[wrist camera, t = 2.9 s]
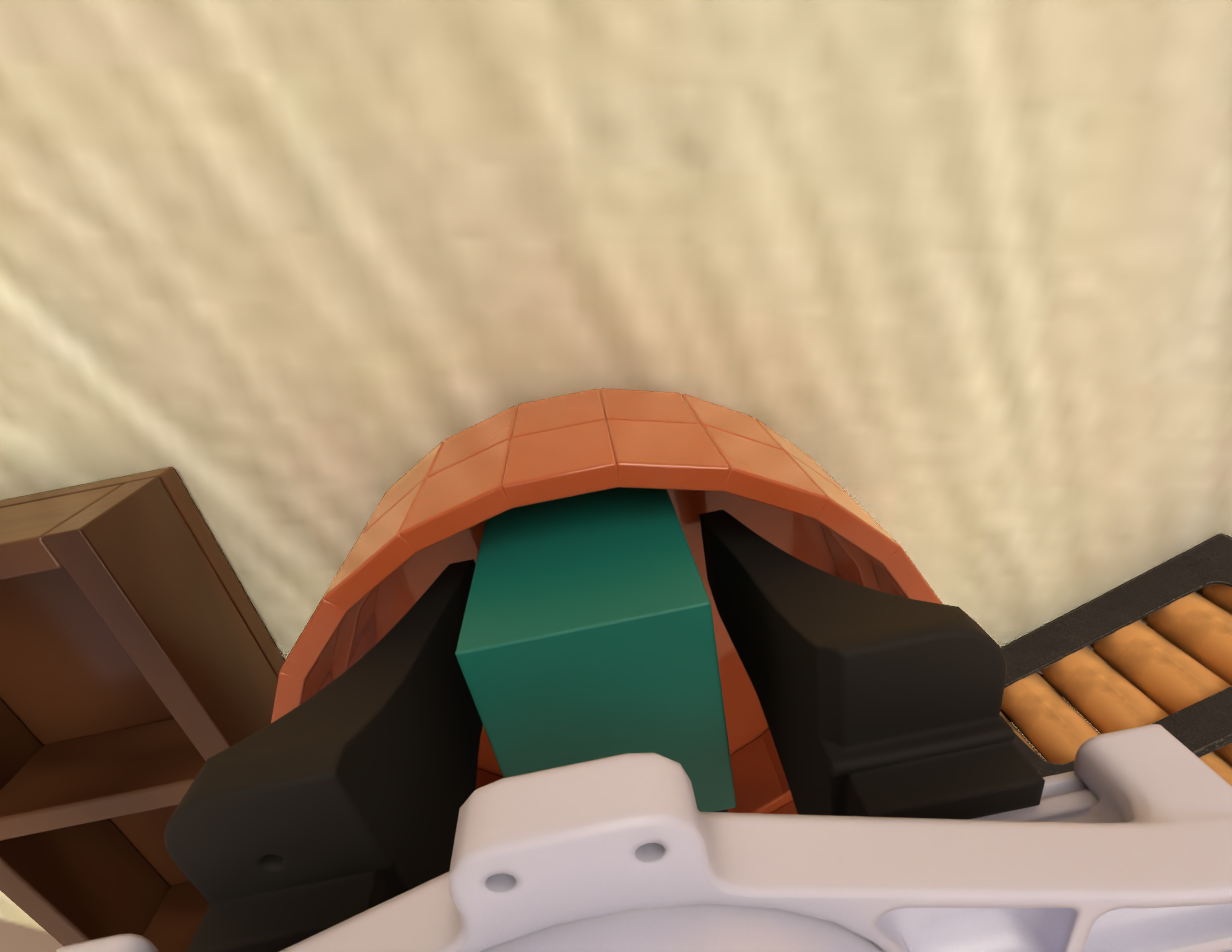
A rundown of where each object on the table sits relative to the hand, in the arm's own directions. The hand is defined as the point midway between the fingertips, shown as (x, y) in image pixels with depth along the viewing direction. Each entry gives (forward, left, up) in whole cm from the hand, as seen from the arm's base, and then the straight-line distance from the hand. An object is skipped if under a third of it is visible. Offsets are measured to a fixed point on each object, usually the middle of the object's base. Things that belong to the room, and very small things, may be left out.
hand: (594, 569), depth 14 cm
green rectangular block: (0, 0, -1) cm, 1 cm away
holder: (-12, +8, -2) cm, 14 cm away
